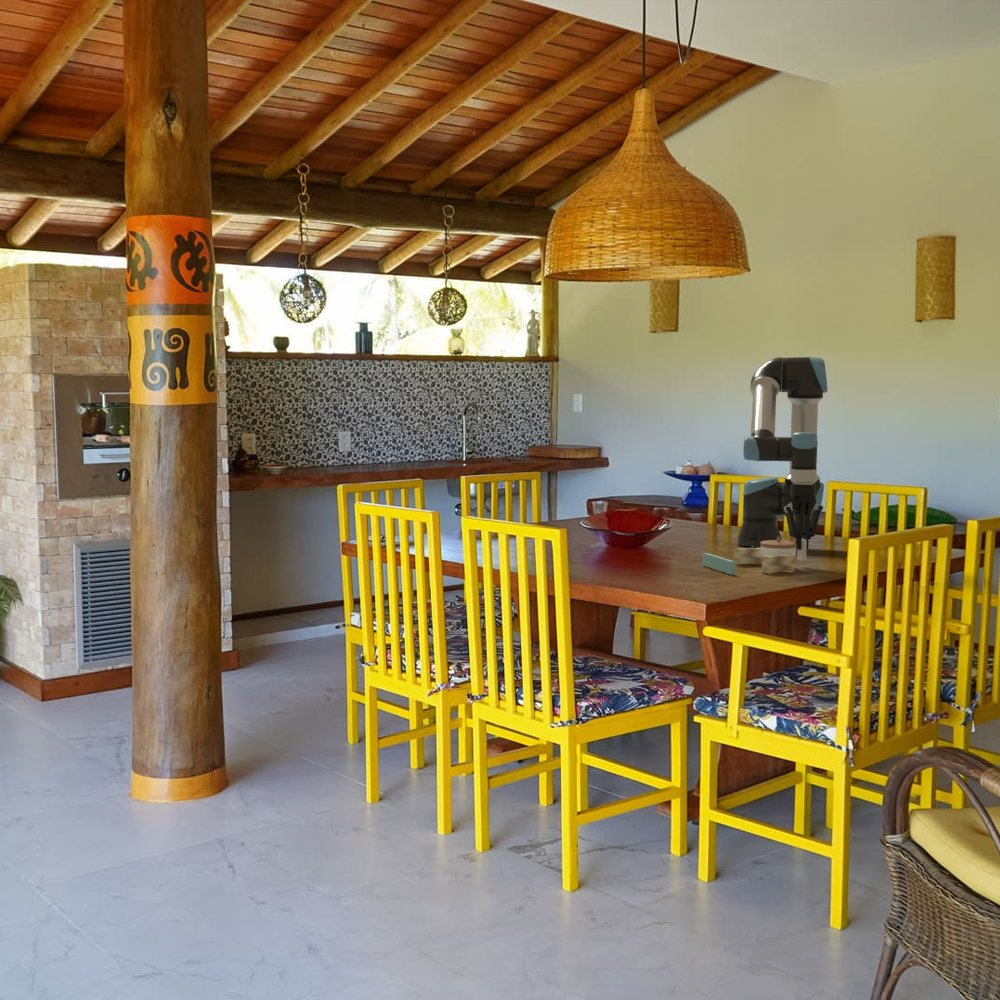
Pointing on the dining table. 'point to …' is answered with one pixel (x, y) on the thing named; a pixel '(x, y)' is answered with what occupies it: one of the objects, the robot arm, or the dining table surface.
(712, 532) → the dining table surface
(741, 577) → the dining table surface
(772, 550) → the lidded jar
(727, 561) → the bar
